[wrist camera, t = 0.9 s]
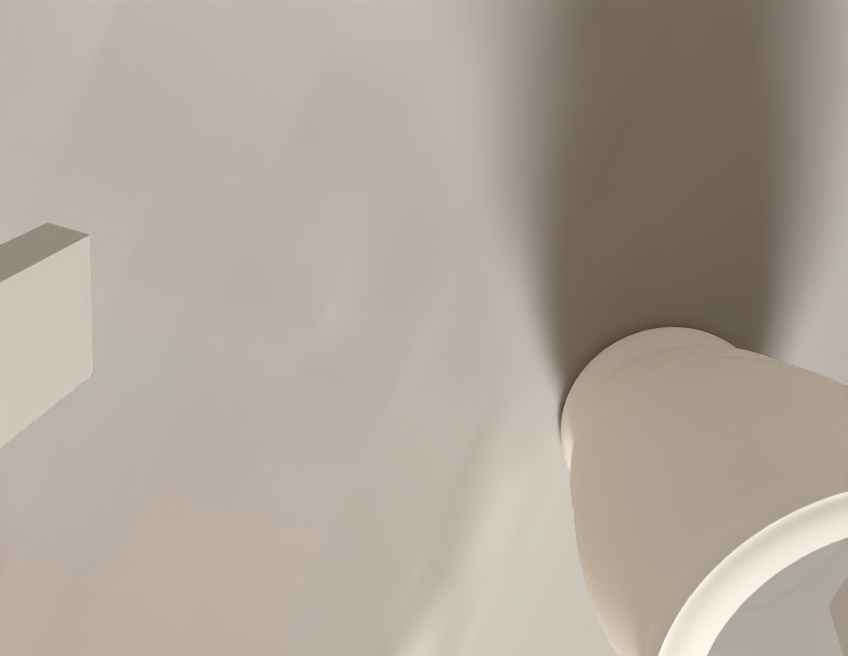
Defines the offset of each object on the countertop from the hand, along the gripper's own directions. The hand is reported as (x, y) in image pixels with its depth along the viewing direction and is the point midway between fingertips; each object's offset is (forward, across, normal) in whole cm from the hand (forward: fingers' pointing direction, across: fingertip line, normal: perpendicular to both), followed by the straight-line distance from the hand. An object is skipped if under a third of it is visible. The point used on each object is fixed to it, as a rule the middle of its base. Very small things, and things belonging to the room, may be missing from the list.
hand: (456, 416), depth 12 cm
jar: (+17, +7, -9) cm, 21 cm away
